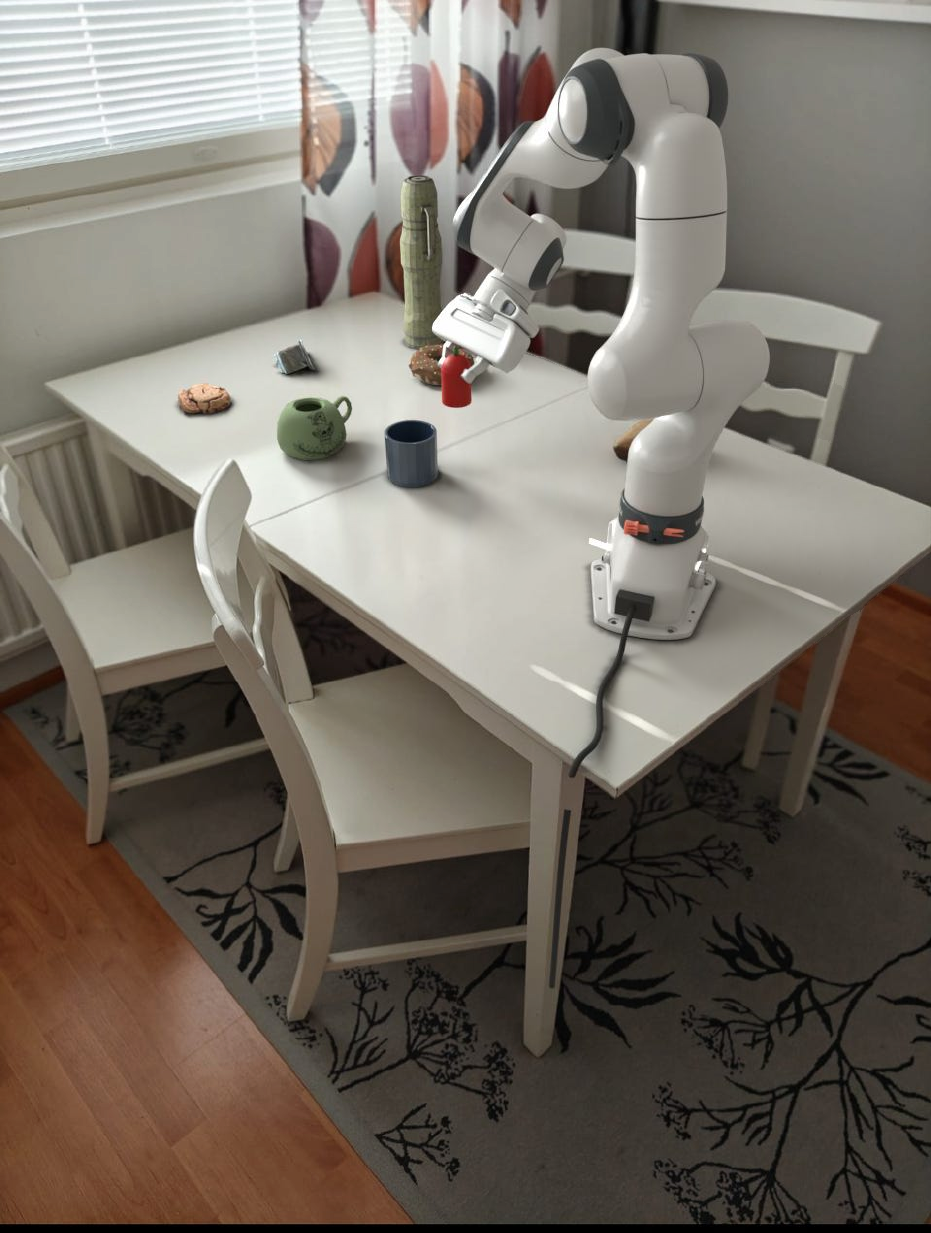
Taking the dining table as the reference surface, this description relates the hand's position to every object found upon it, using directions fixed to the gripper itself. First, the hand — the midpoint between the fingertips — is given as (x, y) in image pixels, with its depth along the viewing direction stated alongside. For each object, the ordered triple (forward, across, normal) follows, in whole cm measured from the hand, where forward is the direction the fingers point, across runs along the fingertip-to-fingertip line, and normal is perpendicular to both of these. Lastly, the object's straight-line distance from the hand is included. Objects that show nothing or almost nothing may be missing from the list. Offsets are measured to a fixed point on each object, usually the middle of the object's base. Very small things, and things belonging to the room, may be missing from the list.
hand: (453, 374), depth 172 cm
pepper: (+3, 0, +4) cm, 5 cm away
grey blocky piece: (+13, -56, +10) cm, 58 cm away
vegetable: (-9, +22, +32) cm, 40 cm away
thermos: (-8, -48, +31) cm, 58 cm away
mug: (+23, -20, 0) cm, 31 cm away
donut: (-2, -31, +25) cm, 40 cm away
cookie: (+30, -50, -7) cm, 58 cm away
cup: (+18, 0, +5) cm, 19 cm away
